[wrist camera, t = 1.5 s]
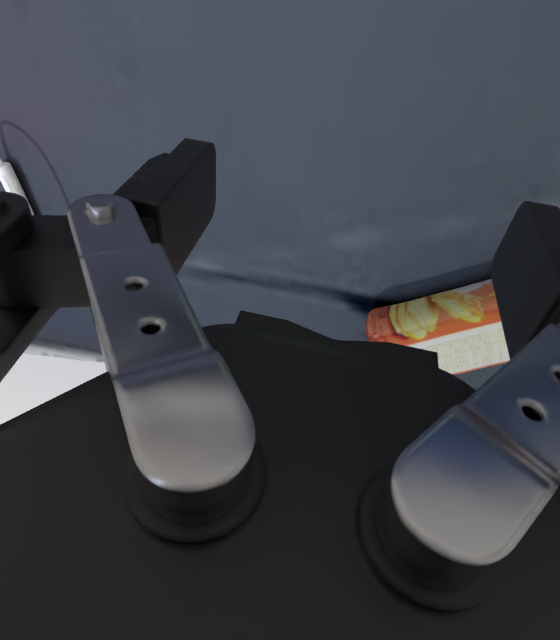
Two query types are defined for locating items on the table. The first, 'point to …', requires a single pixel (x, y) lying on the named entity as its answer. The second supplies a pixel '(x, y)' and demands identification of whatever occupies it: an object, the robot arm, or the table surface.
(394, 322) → the snack package
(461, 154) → the table surface
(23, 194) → the earphone
